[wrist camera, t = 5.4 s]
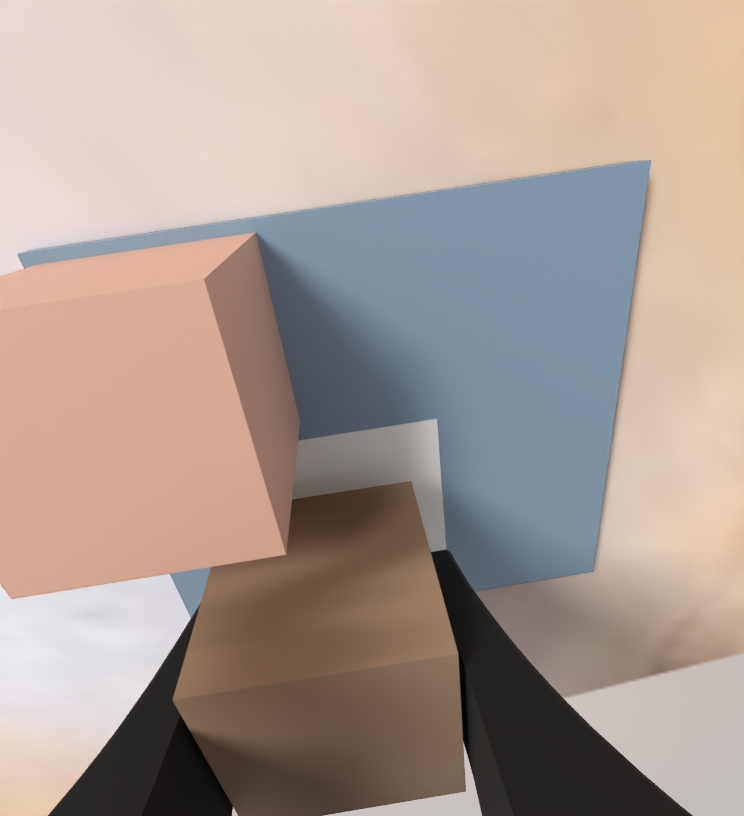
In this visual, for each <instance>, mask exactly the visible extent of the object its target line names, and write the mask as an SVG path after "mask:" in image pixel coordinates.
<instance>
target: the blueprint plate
mask: <svg viewBox="0 0 744 816" xmlns="http://www.w3.org/2000/svg"><path fill="white" fill-rule="evenodd" d="M650 164H651V160H647V161H631V162H625V163H618V164H611V165H604V166H598V167H591V168H584V169H577V170H570V171H564V172H557V173H550V174H543V175H537V176H530V177H523V178H516V179H510V180H503V181H496V182H489V183H482V184H476V185H469V186H462V187H455V188H449V189H442V190H435V191H428V192H421V193H415V194H408V195H401V196H394V197H388V198H381V199H374V200H367V201H360V202H354V203H347V204H340V205H333V206H327V207H320V208H313V209H306V210H300V211H293V212H286V213H279V214H272V215H266V216H259V217H252V218H245V219H239V220H232V221H225V222H218V223H211V224H205V225H198V226H191V227H184V228H178V229H171V230H164V231H157V232H150V233H144V234H137V235H130V236H123V237H117V238H110V239H103V240H96V241H90V242H83V243H76V244H69V245H62V246H56V247H49V248H42V249H35V250H30V251H26V252H23V253H19V254H18V257H19V259H20V261H21V263H22V265H23V267H24V269H25V268H28V267H31V266H34V265H38V264H45V263H52V262H58V261H65V260H72V259H79V258H85V257H92V256H99V255H106V254H112V253H119V252H126V251H133V250H139V249H146V248H153V247H160V246H166V245H173V244H180V243H187V242H193V241H200V240H207V239H214V238H220V237H227V236H234V235H241V234H247V233H254V232H256V236H257V240H258V244H259V248H260V253H261V257H262V261H263V265H264V270H265V274H266V278H267V283H268V287H269V291H270V295H271V300H272V304H273V308H274V312H275V317H276V321H277V325H278V329H279V334H280V338H281V342H282V346H283V351H284V355H285V359H286V364H287V368H288V372H289V376H290V381H291V385H292V389H293V393H294V398H295V402H296V406H297V410H298V415H299V419H300V426H299V436H298V446H297V455H296V465H295V475H294V484H293V494H292V499H298V498H304V497H311V496H317V495H324V494H330V493H337V492H343V491H349V490H356V489H362V488H369V487H375V486H382V485H388V484H395V483H401V482H408V481H412V485H413V489H414V492H415V496H416V500H417V503H418V507H419V511H420V514H421V518H422V522H423V526H424V529H425V533H426V537H427V540H428V544H429V548H430V551H431V552H434V551H440V550H448V551H450V552H451V553H452V555H453V557H454V559H455V561H456V563H457V564H458V566H459V568H460V570H461V571H462V573H463V574H464V576H465V578H466V579H467V581H468V582H469V584H470V585H471V587H472V588H473V590H474V591H479V590H485V589H491V588H497V587H503V586H510V585H516V584H522V583H528V582H534V581H540V580H546V579H552V578H558V577H564V576H570V575H576V574H583V573H589V572H593V567H594V560H595V553H596V546H597V539H598V532H599V525H600V518H601V511H602V504H603V496H604V489H605V482H606V475H607V468H608V461H609V454H610V447H611V440H612V433H613V426H614V419H615V412H616V404H617V397H618V390H619V383H620V376H621V369H622V362H623V355H624V348H625V341H626V334H627V327H628V320H629V312H630V305H631V298H632V291H633V284H634V277H635V270H636V263H637V256H638V249H639V242H640V235H641V228H642V220H643V213H644V206H645V199H646V192H647V185H648V178H649V171H650ZM210 569H211V567H207V568H201V569H195V570H189V571H182V572H176V573H170V575H171V577H172V579H173V581H174V583H175V586H176V588H177V590H178V592H179V594H180V596H181V598H182V600H183V602H184V604H185V606H186V609H187V611H188V613H189V615H190V617H191V618H192V616H193V614H194V613H195V611H196V609H197V608H198V606H199V604H200V603H201V600H202V597H203V593H204V590H205V586H206V583H207V579H208V576H209V572H210Z"/></svg>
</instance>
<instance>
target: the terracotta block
mask: <svg viewBox="0 0 744 816" xmlns="http://www.w3.org/2000/svg"><path fill="white" fill-rule="evenodd" d="M299 426H300V419H299V415H298V410H297V406H296V402H295V398H294V393H293V389H292V385H291V381H290V376H289V372H288V368H287V364H286V359H285V355H284V351H283V346H282V342H281V338H280V334H279V329H278V325H277V321H276V317H275V312H274V308H273V304H272V300H271V295H270V291H269V287H268V283H267V278H266V274H265V270H264V265H263V261H262V257H261V253H260V248H259V244H258V240H257V236H256V232H254V233H247V234H241V235H234V236H227V237H220V238H214V239H207V240H200V241H193V242H187V243H180V244H173V245H166V246H160V247H153V248H146V249H139V250H133V251H126V252H119V253H112V254H106V255H99V256H92V257H85V258H79V259H72V260H65V261H58V262H52V263H45V264H38V265H34V266H31V267H28V268H25V269H22V270H19V271H16V272H13V273H10V274H7V275H4V276H1V277H0V584H1V586H2V587H3V588H4V590H5V591H6V592H7V594H8V595H9V596H10V598H11V599H15V598H22V597H28V596H34V595H40V594H46V593H53V592H59V591H65V590H71V589H77V588H83V587H90V586H96V585H102V584H108V583H114V582H121V581H127V580H133V579H139V578H145V577H152V576H158V575H164V574H170V573H176V572H182V571H189V570H195V569H201V568H207V567H213V566H220V565H226V564H232V563H238V562H244V561H251V560H257V559H263V558H269V557H275V556H281V555H286V552H287V542H288V533H289V523H290V513H291V504H292V494H293V484H294V475H295V465H296V455H297V446H298V436H299Z"/></svg>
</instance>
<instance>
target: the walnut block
mask: <svg viewBox="0 0 744 816" xmlns="http://www.w3.org/2000/svg"><path fill="white" fill-rule="evenodd" d="M173 702H174V704H175V706H176V707H177V709H178V711H179V713H180V714H181V716H182V718H183V720H184V721H185V723H186V725H187V727H188V728H189V730H190V732H191V734H192V735H193V737H194V739H195V741H196V742H197V744H198V746H199V748H200V749H201V751H202V753H203V755H204V756H205V758H206V760H207V762H208V763H209V765H210V767H211V769H212V770H213V772H214V774H215V776H216V777H217V779H218V781H219V783H220V784H221V786H222V788H223V790H224V791H225V793H226V795H227V797H228V798H229V800H230V802H231V804H232V805H233V807H234V809H235V810H236V812H237V814H238V816H323V815H328V814H334V813H340V812H346V811H352V810H358V809H364V808H370V807H375V806H382V805H388V804H394V803H399V802H406V801H411V800H417V799H423V798H429V797H435V796H441V795H447V794H453V793H459V792H465V791H466V786H465V768H464V751H463V750H464V749H463V731H462V712H461V694H460V676H459V657H458V651H457V647H456V643H455V640H454V636H453V632H452V629H451V625H450V621H449V618H448V614H447V610H446V607H445V603H444V599H443V596H442V592H441V588H440V584H439V581H438V577H437V573H436V570H435V566H434V562H433V559H432V555H431V551H430V548H429V544H428V540H427V537H426V533H425V529H424V526H423V522H422V518H421V514H420V511H419V507H418V503H417V500H416V496H415V492H414V489H413V485H412V481H408V482H401V483H395V484H388V485H382V486H375V487H369V488H362V489H356V490H349V491H343V492H337V493H330V494H324V495H317V496H311V497H304V498H298V499H292V504H291V513H290V523H289V533H288V542H287V552H286V555H281V556H275V557H269V558H263V559H257V560H251V561H244V562H238V563H232V564H226V565H220V566H213V567H211V569H210V572H209V576H208V579H207V583H206V586H205V590H204V593H203V597H202V600H201V603H200V607H199V610H198V614H197V617H196V621H195V624H194V628H193V631H192V635H191V638H190V641H189V645H188V648H187V652H186V655H185V659H184V662H183V666H182V669H181V672H180V676H179V679H178V683H177V686H176V690H175V693H174V697H173Z"/></svg>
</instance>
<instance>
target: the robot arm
mask: <svg viewBox="0 0 744 816" xmlns="http://www.w3.org/2000/svg"><path fill="white" fill-rule="evenodd" d="M431 555H432V559H433V562H434V566H435V570H436V573H437V577H438V581H439V584H440V588H441V592H442V596H443V599H444V603H445V607H446V610H447V614H448V618H449V621H450V625H451V629H452V632H453V636H454V640H455V643H456V647H457V651H458V657H459V676H460V694H461V712H462V731H463V742H464V745H465V748H466V751H467V755H468V758H469V762H470V766H471V769H472V773H473V777H474V781H475V785H476V790H477V794H478V798H479V803H480V808H481V812H482V816H692V815H691V814H690V813H689V812H687V811H686V810H685V809H684V808H682V807H681V806H680V805H679V804H678V803H676V802H675V801H674V800H673V799H672V798H671V797H669V796H668V795H667V794H666V793H665V792H664V791H662V790H661V789H660V788H659V787H658V786H657V785H655V784H654V783H653V782H652V781H651V780H650V779H648V778H647V777H646V776H645V775H643V774H642V773H641V772H640V771H639V770H638V769H637V768H636V767H635V766H634V765H633V764H632V763H630V762H629V761H628V760H627V759H626V758H625V757H624V756H623V755H622V754H621V753H620V752H618V751H617V750H616V749H615V748H614V747H613V746H612V745H611V744H610V743H609V742H608V741H606V740H605V739H604V738H603V737H602V736H601V735H600V734H599V733H598V732H597V731H596V730H594V729H593V728H592V727H591V726H590V725H589V724H588V723H587V722H586V721H585V720H584V719H583V718H582V717H581V716H580V715H579V714H578V713H577V712H576V711H575V710H574V709H573V708H572V707H571V706H570V705H569V704H568V703H567V702H566V701H565V700H564V699H563V698H562V697H561V696H560V694H559V693H558V692H557V691H556V690H555V689H554V688H553V687H552V686H551V685H550V684H549V683H548V682H547V681H546V680H545V679H544V677H543V676H542V675H541V674H540V673H539V672H538V671H537V670H536V669H535V667H534V666H533V665H532V664H531V663H530V662H529V661H528V659H527V658H526V657H525V656H524V655H523V653H522V652H521V651H520V650H519V649H518V648H517V646H516V645H515V644H514V643H513V642H512V640H511V639H510V638H509V637H508V635H507V634H506V633H505V632H504V630H503V629H502V628H501V627H500V625H499V624H498V623H497V621H496V620H495V619H494V617H493V616H492V615H491V613H490V612H489V611H488V609H487V608H486V607H485V605H484V604H483V603H482V601H481V600H480V598H479V597H478V596H477V594H476V593H475V591H474V590H473V588H472V587H471V585H470V584H469V582H468V581H467V579H466V578H465V576H464V574H463V573H462V571H461V570H460V568H459V566H458V564H457V563H456V561H455V559H454V557H453V555H452V553H451V552H450V551H448V550H440V551H434V552H431ZM199 607H200V604H199V606H198V608H197V609H196V611H195V613H194V614H193V616H192V618H191V619H190V621H189V623H188V624H187V626H186V628H185V629H184V631H183V632H182V634H181V636H180V637H179V639H178V640H177V642H176V644H175V645H174V647H173V648H172V650H171V651H170V653H169V655H168V656H167V658H166V659H165V661H164V662H163V664H162V665H161V667H160V668H159V670H158V671H157V673H156V675H155V676H154V678H153V679H152V681H151V682H150V684H149V685H148V687H147V688H146V689H145V691H144V692H143V694H142V695H141V697H140V698H139V699H138V701H137V702H136V704H135V705H134V707H133V708H132V709H131V711H130V712H129V714H128V715H127V716H126V718H125V719H124V721H123V722H122V724H121V725H120V726H119V728H118V729H117V730H116V732H115V733H114V734H113V736H112V737H111V738H110V740H109V741H108V742H107V744H106V745H105V746H104V748H103V749H102V750H101V752H100V753H99V754H98V755H97V757H96V758H95V759H94V760H93V762H92V763H91V764H90V766H89V767H88V768H87V769H86V771H85V772H84V773H83V774H82V776H81V777H80V778H79V779H78V781H77V782H76V783H75V784H74V785H73V787H72V788H71V789H70V790H69V791H68V793H67V794H66V795H65V796H64V797H63V798H62V800H61V801H60V802H59V803H58V804H57V806H56V807H55V808H54V809H53V810H52V811H51V813H50V814H49V815H48V816H232V809H233V805H232V804H231V802H230V800H229V798H228V797H227V795H226V793H225V791H224V790H223V788H222V786H221V784H220V783H219V781H218V779H217V777H216V776H215V774H214V772H213V770H212V769H211V767H210V765H209V763H208V762H207V760H206V758H205V756H204V755H203V753H202V751H201V749H200V748H199V746H198V744H197V742H196V741H195V739H194V737H193V735H192V734H191V732H190V730H189V728H188V727H187V725H186V723H185V721H184V720H183V718H182V716H181V714H180V713H179V711H178V709H177V707H176V706H175V704H174V702H173V697H174V693H175V690H176V686H177V683H178V679H179V676H180V672H181V669H182V666H183V662H184V659H185V655H186V652H187V648H188V645H189V641H190V638H191V635H192V631H193V628H194V624H195V621H196V617H197V614H198V610H199Z"/></svg>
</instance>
